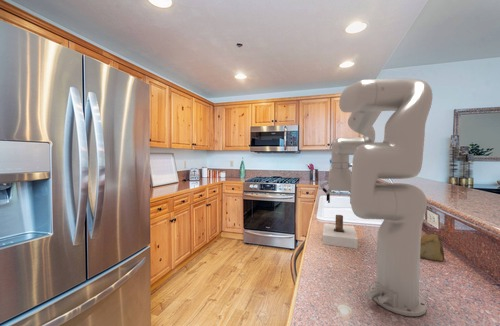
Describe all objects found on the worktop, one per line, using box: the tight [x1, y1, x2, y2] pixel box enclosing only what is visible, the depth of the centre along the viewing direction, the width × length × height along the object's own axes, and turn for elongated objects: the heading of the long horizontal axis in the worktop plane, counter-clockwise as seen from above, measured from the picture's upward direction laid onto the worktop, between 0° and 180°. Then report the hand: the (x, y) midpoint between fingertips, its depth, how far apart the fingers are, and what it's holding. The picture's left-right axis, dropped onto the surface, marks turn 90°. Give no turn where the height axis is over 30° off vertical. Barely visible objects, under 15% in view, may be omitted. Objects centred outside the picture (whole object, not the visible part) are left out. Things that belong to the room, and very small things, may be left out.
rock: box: [420, 233, 445, 262], centre depth 84 cm, size 11×9×10 cm
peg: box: [335, 214, 344, 232], centre depth 102 cm, size 3×3×11 cm
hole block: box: [321, 222, 359, 250], centre depth 102 cm, size 18×14×4 cm
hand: (339, 203), depth 101 cm, fingers open, 9 cm apart
